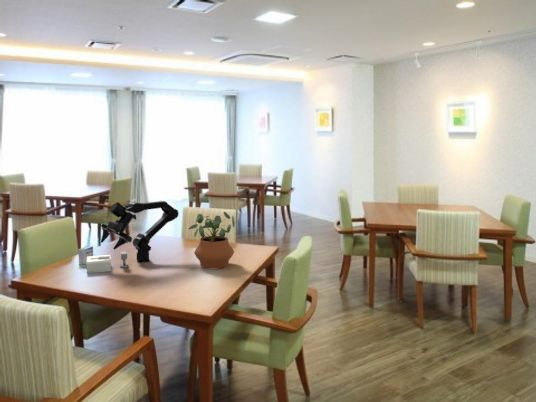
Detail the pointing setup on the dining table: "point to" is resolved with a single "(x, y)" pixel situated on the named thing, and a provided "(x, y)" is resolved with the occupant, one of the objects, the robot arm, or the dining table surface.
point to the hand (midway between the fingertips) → (107, 245)
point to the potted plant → (213, 243)
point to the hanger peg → (123, 257)
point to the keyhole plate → (98, 263)
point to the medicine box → (85, 254)
